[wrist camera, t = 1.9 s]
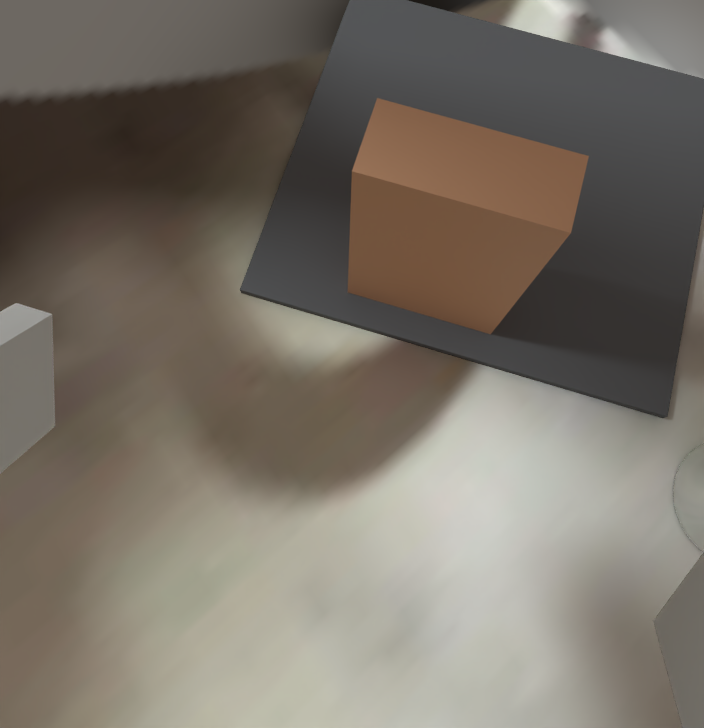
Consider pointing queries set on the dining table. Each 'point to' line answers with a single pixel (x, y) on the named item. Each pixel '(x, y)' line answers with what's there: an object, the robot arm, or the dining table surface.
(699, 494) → the beer glass
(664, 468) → the dining table surface
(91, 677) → the dining table surface
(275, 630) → the dining table surface
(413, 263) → the card deck box
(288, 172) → the rubber mat
